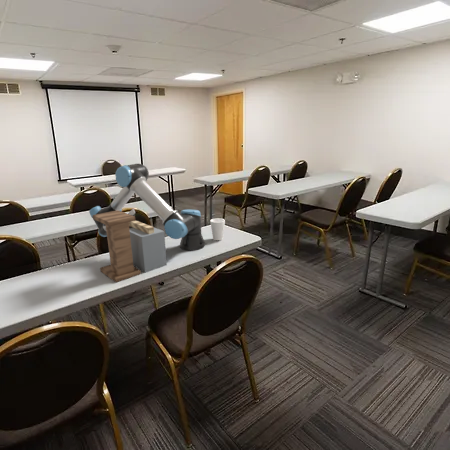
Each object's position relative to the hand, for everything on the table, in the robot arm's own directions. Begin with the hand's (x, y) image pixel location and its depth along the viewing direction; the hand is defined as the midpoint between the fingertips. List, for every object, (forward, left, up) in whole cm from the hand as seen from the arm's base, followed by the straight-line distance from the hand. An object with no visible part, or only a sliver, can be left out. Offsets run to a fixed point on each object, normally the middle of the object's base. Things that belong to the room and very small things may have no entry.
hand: (123, 212), depth 180 cm
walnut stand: (+2, +27, -25) cm, 37 cm away
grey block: (-11, +19, -25) cm, 33 cm away
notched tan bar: (-9, +15, -6) cm, 18 cm away
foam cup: (-57, -9, -25) cm, 62 cm away
